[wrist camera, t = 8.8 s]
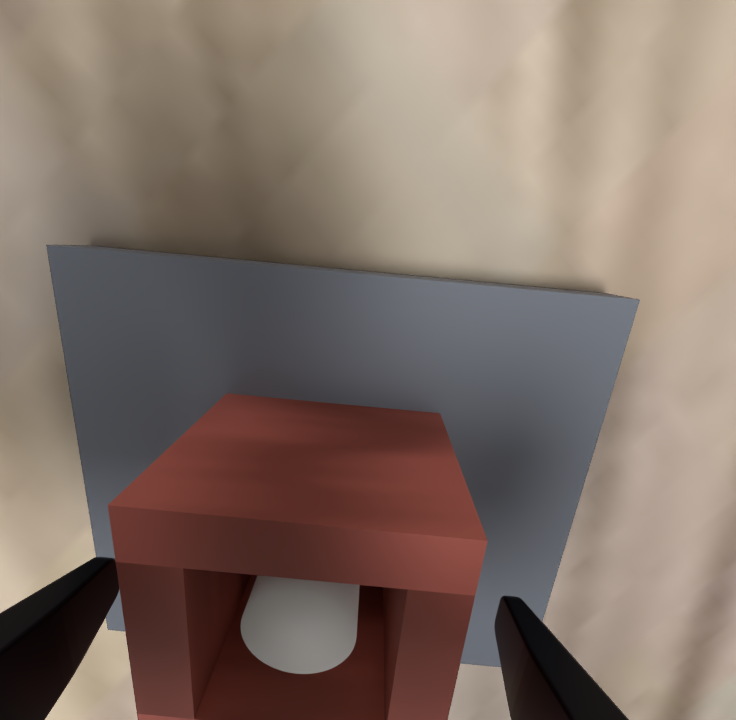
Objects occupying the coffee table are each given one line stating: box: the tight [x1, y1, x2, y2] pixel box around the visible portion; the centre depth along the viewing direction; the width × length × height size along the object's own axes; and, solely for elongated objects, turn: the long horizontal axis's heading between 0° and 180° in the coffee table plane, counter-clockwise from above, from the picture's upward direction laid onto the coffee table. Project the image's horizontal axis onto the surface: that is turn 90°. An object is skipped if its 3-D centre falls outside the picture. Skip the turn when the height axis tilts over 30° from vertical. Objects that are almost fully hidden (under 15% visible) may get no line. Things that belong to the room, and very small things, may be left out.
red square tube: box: [108, 393, 488, 720], centre depth 9 cm, size 6×6×5 cm
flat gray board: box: [46, 245, 640, 674], centre depth 10 cm, size 16×14×6 cm
